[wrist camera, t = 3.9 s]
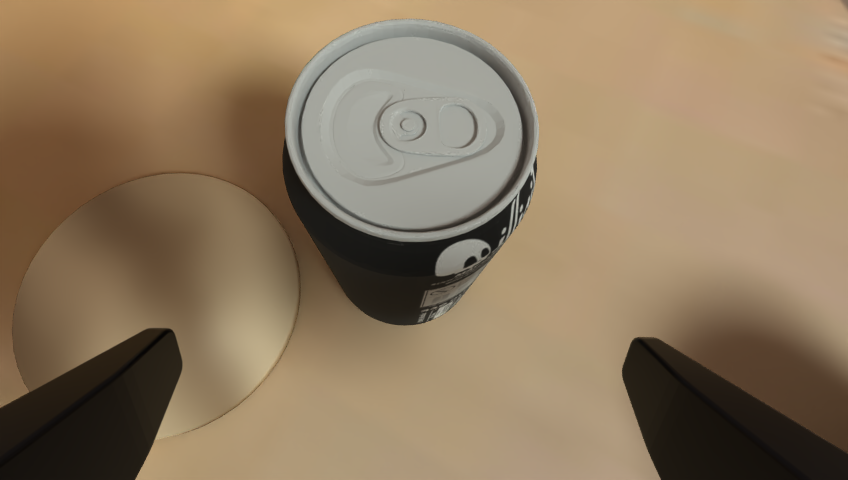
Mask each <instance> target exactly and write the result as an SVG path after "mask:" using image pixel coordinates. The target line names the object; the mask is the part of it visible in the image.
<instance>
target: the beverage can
mask: <svg viewBox="0 0 848 480" xmlns="http://www.w3.org/2000/svg"><path fill="white" fill-rule="evenodd" d="M538 139H539V126H538V116H537V112H536V108H535V104H534V101H533V98H532V96H531V93H530V91H529V89H528V87H527V85H526V83H525V81H524V80H523V78H522V76H521V75H520V74H519V72H518V71H517V69H516V68H515V67H514V66H513V65H512V64H511V62H510V61H509V60H508V59H507V58H506V57H505V56H504V55H503V54H502V53H500V52H499V51H498V50H497V49H495V48H494V47H493V46H492V45H490V44H489V43H488V42H486V41H484V40H483V39H481V38H479V37H478V36H476V35H474V34H472V33H470V32H468V31H465V30H462V29H460V28H457V27H455V26H452V25H448V24H444V23H440V22H437V21H430V20H423V19H395V20H387V21H380V22H375V23H372V24H368V25H365V26H362V27H359V28H356V29H354V30H351V31H349V32H347V33H345V34H343V35H341V36H340V37H338V38H336V39H334V40H333V41H331V42H330V43H329V44H328V45H326V46H325V47H324V48H323V49H321V50H320V51H319V52H318V53H317V54H316V55H315V56H314V57H313V58H312V59H311V60H310V61H309V62H308V63H307V65H306V66H305V67H304V69H303V70H302V72H301V73H300V75H299V77H298V78H297V80H296V82H295V84H294V86H293V88H292V91H291V94H290V97H289V99H288V104H287V109H286V115H285V141H284V148H283V174H284V180H285V185H286V188H287V192H288V195H289V198H290V200H291V203H292V205H293V207H294V209H295V211H296V213H297V215H298V216H299V218H300V220H301V221H302V223H303V224H304V226H305V228H306V229H307V231H308V233H309V234H310V236H311V238H312V239H313V241H314V242H315V244H316V246H317V247H318V249H319V251H320V252H321V254H322V256H323V257H324V259H325V260H326V262H327V264H328V265H329V267H330V269H331V270H332V272H333V274H334V275H335V277H336V278H337V280H338V282H339V283H340V285H341V287H342V288H343V290H344V292H345V293H346V295H347V296H348V298H349V299H350V300H351V301H352V302H353V303H354V304H355V305H356V306H357V307H358V308H359V309H360V310H361V311H363V312H364V313H365V314H367V315H369V316H370V317H372V318H374V319H377V320H379V321H382V322H385V323H389V324H394V325H416V324H421V323H425V322H428V321H431V320H433V319H435V318H438V317H439V316H441V315H443V314H444V313H446V312H447V311H449V310H450V309H451V308H452V307H453V306H454V305H455V304H456V303H457V302H458V301H459V300H460V299H461V297H462V296H463V295H464V293H465V292H466V291H467V290H468V288H469V287H470V286H471V285H472V283H473V282H474V281H475V279H476V278H477V277H478V276H479V274H480V273H481V272H482V271H483V269H484V268H485V267H486V265H487V264H488V263H489V262H490V260H491V259H492V258H493V257H494V255H495V254H496V253H497V251H498V250H499V249H500V248H501V246H502V245H503V244H504V243H505V241H506V240H507V239H508V237H509V236H510V235H511V234H512V232H513V231H514V230H515V228H516V227H517V226H518V224H519V223H520V221H521V220H522V218H523V216H524V214H525V212H526V210H527V208H528V206H529V203H530V201H531V198H532V194H533V191H534V186H535V180H536V172H537V158H536V153H537V149H538Z"/></svg>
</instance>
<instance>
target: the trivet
mask: <svg viewBox="0 0 848 480" xmlns="http://www.w3.org/2000/svg"><path fill="white" fill-rule="evenodd" d="M299 303H300V274H299V266H298V262H297V258H296V255H295V251H294V249H293V246H292V244H291V242H290V240H289V237H288V235H287V234H286V232H285V231H284V229H283V228H282V226H281V224H280V223H279V222H278V220H277V219H276V218H275V217H274V215H273V214H272V213H271V212H270V211H269V210H268V209H267V207H266V206H265V205H263V204H262V203H261V202H260V201H259V200H258V199H257V198H255V197H254V196H253V195H251V194H249V193H248V192H246V191H245V190H243V189H242V188H240V187H238V186H235V185H233V184H231V183H229V182H226V181H223V180H220V179H217V178H214V177H209V176H204V175H199V174H186V173H174V174H161V175H155V176H148V177H144V178H140V179H137V180H133V181H130V182H127V183H124V184H122V185H119V186H117V187H114V188H112V189H110V190H108V191H106V192H104V193H102V194H100V195H98V196H97V197H95V198H93V199H92V200H90V201H89V202H87V203H86V204H84V205H83V206H81V207H80V208H79V209H77V210H76V211H75V212H74V213H72V214H71V215H70V216H69V217H68V218H66V219H65V220H64V221H63V222H62V223H61V224H60V225H59V226H58V227H57V228H56V229H55V230H54V231H53V233H52V234H51V235H50V236H49V238H48V239H47V240H46V241H45V242H44V244H43V245H42V246H41V248H40V249H39V251H38V252H37V254H36V255H35V257H34V259H33V260H32V262H31V264H30V266H29V268H28V270H27V272H26V274H25V276H24V278H23V281H22V284H21V286H20V289H19V292H18V295H17V299H16V304H15V309H14V313H13V327H12V336H13V349H14V354H15V358H16V362H17V367H18V369H19V372H20V374H21V376H22V379H23V381H24V384H25V385H26V387H27V388H28V390H29V391H30V392H31V391H33V390H34V389H36V388H38V387H40V386H42V385H44V384H46V383H47V382H49V381H51V380H53V379H55V378H57V377H58V376H60V375H62V374H64V373H66V372H68V371H69V370H71V369H73V368H75V367H77V366H79V365H81V364H82V363H84V362H86V361H88V360H90V359H92V358H93V357H95V356H97V355H99V354H101V353H103V352H104V351H106V350H108V349H110V348H112V347H114V346H116V345H117V344H119V343H121V342H123V341H125V340H127V339H128V338H130V337H132V336H134V335H136V334H138V333H139V332H141V331H143V330H145V329H147V328H170V329H172V330H173V331H174V333H175V335H176V339H177V342H178V346H179V350H180V353H181V357H182V361H183V367H182V372H181V375H180V378H179V380H178V383H177V385H176V388H175V390H174V393H173V395H172V398H171V400H170V403H169V405H168V408H167V410H166V413H165V415H164V418H163V420H162V423H161V425H160V428H159V430H158V433H157V436H156V438H155V440H158V439H162V438H167V437H171V436H175V435H179V434H183V433H186V432H189V431H191V430H194V429H197V428H200V427H202V426H204V425H206V424H208V423H210V422H212V421H214V420H216V419H218V418H220V417H222V416H223V415H225V414H226V413H228V412H229V411H231V410H232V409H234V408H235V407H237V406H238V405H239V404H240V403H242V402H243V401H244V400H245V399H246V398H247V397H249V396H250V395H251V394H252V393H253V392H254V391H255V390H256V389H257V388H258V387H259V386H260V385H261V383H262V382H263V381H264V380H265V379H266V378H267V377H268V375H269V374H270V372H271V371H272V370H273V368H274V367H275V366H276V364H277V363H278V361H279V359H280V357H281V356H282V354H283V352H284V350H285V349H286V347H287V344H288V342H289V340H290V337H291V335H292V332H293V330H294V326H295V322H296V319H297V315H298V310H299Z"/></svg>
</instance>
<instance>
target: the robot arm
mask: <svg viewBox="0 0 848 480" xmlns="http://www.w3.org/2000/svg"><path fill="white" fill-rule="evenodd" d="M182 367H183V361H182V357H181V353H180V350H179V346H178V342H177V339H176V335H175V333H174V331H173V330H172V329H170V328H147V329H145V330H143V331H141V332H139V333H138V334H136V335H134V336H132V337H130V338H128V339H127V340H125V341H123V342H121V343H119V344H117V345H116V346H114V347H112V348H110V349H108V350H106V351H104V352H103V353H101V354H99V355H97V356H95V357H93V358H92V359H90V360H88V361H86V362H84V363H82V364H81V365H79V366H77V367H75V368H73V369H71V370H69V371H68V372H66V373H64V374H62V375H60V376H58V377H57V378H55V379H53V380H51V381H49V382H47V383H46V384H44V385H42V386H40V387H38V388H36V389H34V390H33V391H31V392H29V393H27V394H25V395H23V396H22V397H20V398H18V399H16V400H14V401H12V402H11V403H9V404H7V405H5V406H3V407H1V408H0V480H135V479H136V477H137V475H138V473H139V471H140V469H141V467H142V466H143V464H144V462H145V460H146V458H147V456H148V454H149V452H150V449H151V447H152V445H153V443H154V440H155V438H156V436H157V433H158V430H159V428H160V425H161V423H162V420H163V418H164V415H165V413H166V410H167V408H168V405H169V403H170V400H171V398H172V395H173V393H174V390H175V388H176V385H177V383H178V380H179V378H180V375H181V372H182ZM622 377H623V381H624V384H625V387H626V390H627V393H628V396H629V398H630V401H631V404H632V407H633V410H634V413H635V416H636V419H637V421H638V424H639V427H640V430H641V433H642V436H643V439H644V441H645V444H646V447H647V449H648V452H649V454H650V456H651V459H652V461H653V463H654V466H655V468H656V470H657V472H658V474H659V476H660V479H661V480H848V453H846V452H844V451H843V450H841V449H840V448H838V447H836V446H835V445H833V444H831V443H830V442H828V441H826V440H825V439H823V438H821V437H820V436H818V435H816V434H815V433H813V432H811V431H810V430H808V429H806V428H805V427H803V426H801V425H800V424H798V423H797V422H795V421H793V420H792V419H790V418H788V417H787V416H785V415H783V414H782V413H780V412H778V411H777V410H775V409H773V408H772V407H770V406H768V405H767V404H765V403H763V402H762V401H760V400H759V399H757V398H755V397H754V396H752V395H750V394H749V393H747V392H745V391H744V390H742V389H740V388H739V387H737V386H735V385H734V384H732V383H730V382H729V381H727V380H725V379H724V378H722V377H720V376H719V375H717V374H716V373H714V372H712V371H711V370H709V369H707V368H706V367H704V366H702V365H701V364H699V363H697V362H696V361H694V360H692V359H691V358H689V357H687V356H686V355H684V354H683V353H681V352H679V351H678V350H676V349H674V348H673V347H671V346H669V345H668V344H666V343H664V342H663V341H661V340H659V339H657V338H654V337H637V338H634V339H633V340H632V342H631V344H630V347H629V350H628V353H627V356H626V359H625V362H624V364H623V368H622Z"/></svg>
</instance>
